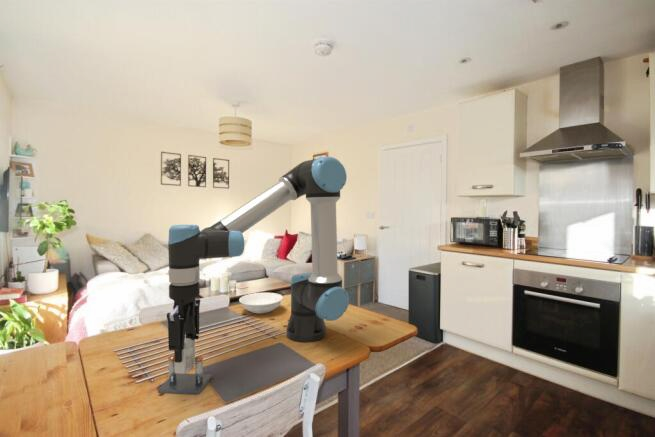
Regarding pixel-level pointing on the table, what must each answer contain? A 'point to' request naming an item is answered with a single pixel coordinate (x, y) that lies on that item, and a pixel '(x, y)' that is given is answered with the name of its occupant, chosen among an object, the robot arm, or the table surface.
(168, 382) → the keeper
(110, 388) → the table surface
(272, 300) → the bowl
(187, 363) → the pill bottle
